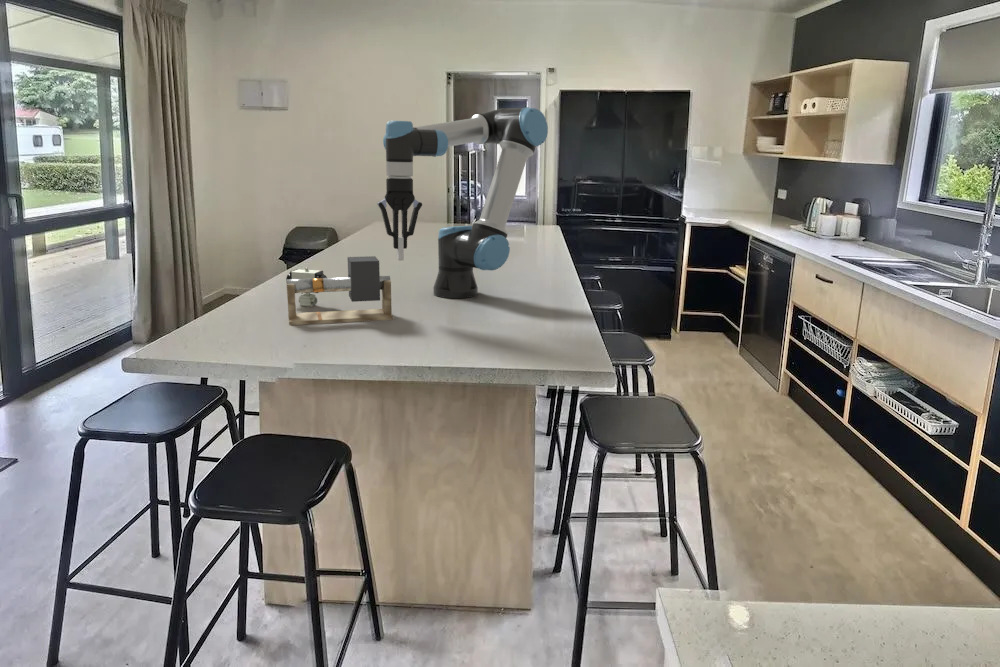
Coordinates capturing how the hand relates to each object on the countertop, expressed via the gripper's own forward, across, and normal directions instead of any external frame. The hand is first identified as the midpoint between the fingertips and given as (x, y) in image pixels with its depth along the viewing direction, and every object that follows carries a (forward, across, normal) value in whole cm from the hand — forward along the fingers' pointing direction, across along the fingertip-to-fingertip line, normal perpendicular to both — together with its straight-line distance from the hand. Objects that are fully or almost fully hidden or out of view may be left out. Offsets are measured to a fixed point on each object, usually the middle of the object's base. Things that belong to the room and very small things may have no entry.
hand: (400, 259), depth 209 cm
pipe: (+9, +18, 0) cm, 20 cm away
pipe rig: (+17, +18, 0) cm, 24 cm away
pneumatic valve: (+17, +26, -19) cm, 36 cm away
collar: (+11, +11, 0) cm, 15 cm away
